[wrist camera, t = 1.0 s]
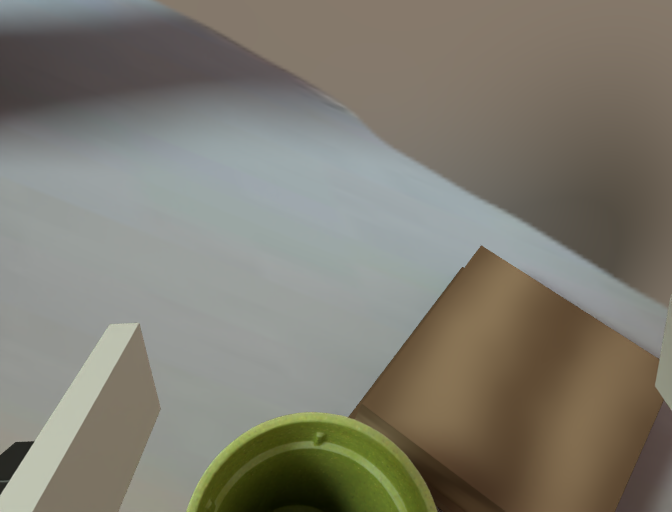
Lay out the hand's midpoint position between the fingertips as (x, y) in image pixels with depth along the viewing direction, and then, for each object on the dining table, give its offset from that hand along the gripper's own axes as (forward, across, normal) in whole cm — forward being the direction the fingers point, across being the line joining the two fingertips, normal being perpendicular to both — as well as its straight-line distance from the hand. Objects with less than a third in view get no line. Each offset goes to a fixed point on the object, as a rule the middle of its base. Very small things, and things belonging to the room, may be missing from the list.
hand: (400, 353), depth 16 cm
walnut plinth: (+15, +6, -14) cm, 21 cm away
